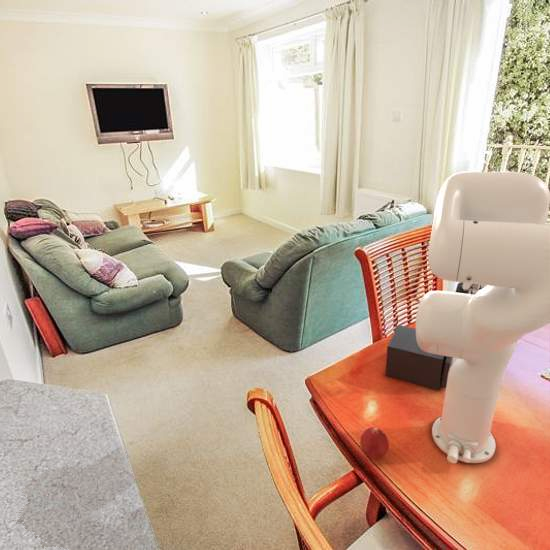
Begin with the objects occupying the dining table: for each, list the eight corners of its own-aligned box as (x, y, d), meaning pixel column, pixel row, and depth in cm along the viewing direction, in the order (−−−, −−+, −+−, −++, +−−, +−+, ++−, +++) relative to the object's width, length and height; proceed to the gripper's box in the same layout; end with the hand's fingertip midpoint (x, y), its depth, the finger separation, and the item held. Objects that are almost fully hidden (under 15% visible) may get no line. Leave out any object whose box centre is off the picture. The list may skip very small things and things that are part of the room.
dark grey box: (445, 364, 106) (449, 335, 102) (438, 390, 97) (442, 359, 93) (396, 352, 113) (398, 324, 109) (385, 375, 104) (387, 346, 100)
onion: (354, 451, 82) (355, 423, 79) (375, 440, 84) (377, 413, 81) (371, 471, 77) (372, 443, 74) (393, 460, 79) (395, 432, 76)
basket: (473, 370, 102) (477, 346, 99) (469, 394, 94) (473, 369, 91) (405, 353, 111) (407, 330, 108) (396, 374, 103) (398, 350, 99)
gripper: (467, 231, 97) (459, 290, 104) (462, 252, 83) (452, 319, 90) (501, 234, 94) (489, 295, 100) (501, 256, 80) (488, 325, 87)
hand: (472, 306), depth 95 cm, fingers open, 9 cm apart
